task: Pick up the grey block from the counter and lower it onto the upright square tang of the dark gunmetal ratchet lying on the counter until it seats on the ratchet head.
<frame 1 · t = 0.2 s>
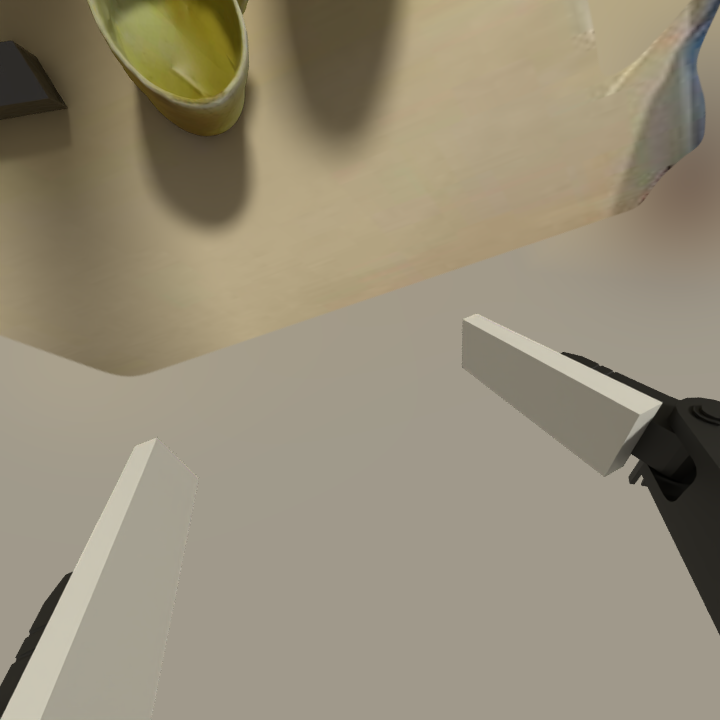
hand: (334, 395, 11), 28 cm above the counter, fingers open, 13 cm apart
mug: (205, 59, 24), on the counter
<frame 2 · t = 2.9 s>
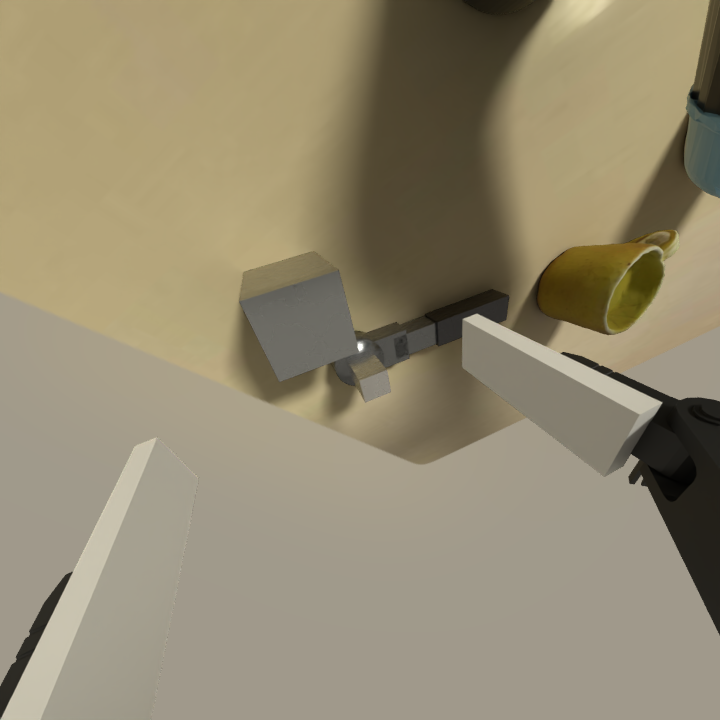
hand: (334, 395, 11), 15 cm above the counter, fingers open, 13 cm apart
mug: (569, 269, 34), on the counter
grey block: (292, 295, 23), on the counter
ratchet: (353, 353, 28), on the counter
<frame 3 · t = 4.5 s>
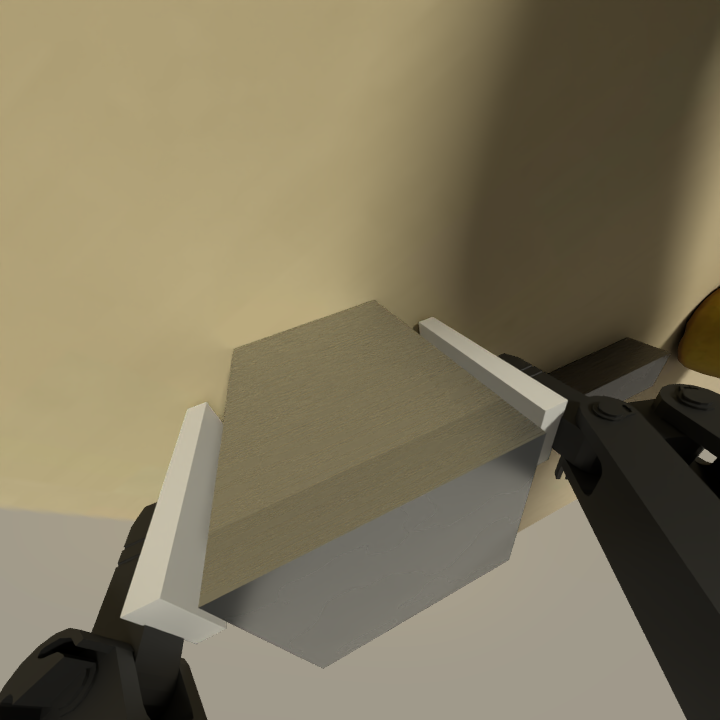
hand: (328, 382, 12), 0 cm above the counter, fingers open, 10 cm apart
grey block: (328, 379, 12), on the counter
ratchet: (417, 448, 17), on the counter
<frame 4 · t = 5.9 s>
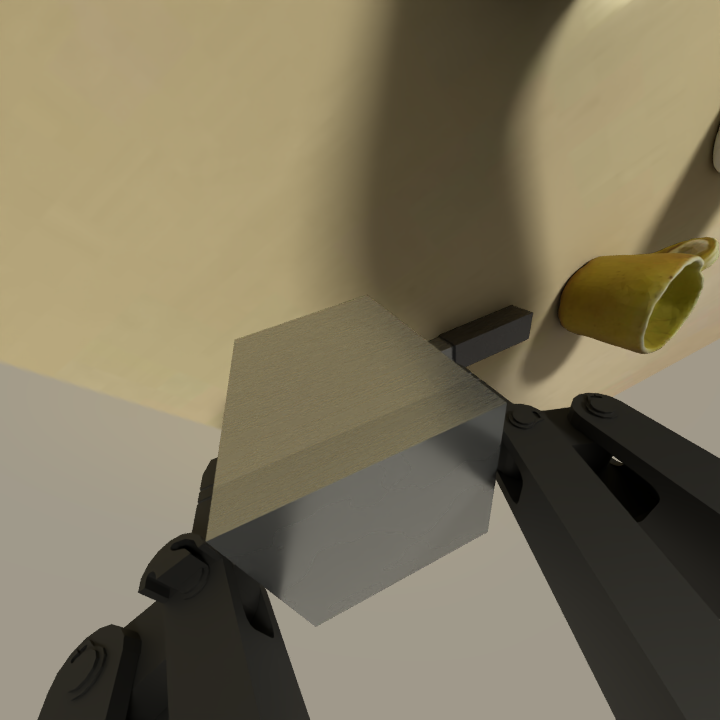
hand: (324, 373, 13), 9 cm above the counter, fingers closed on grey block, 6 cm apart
mug: (591, 280, 31), on the counter
grey block: (323, 370, 13), point 8 cm above the counter, touching gripper
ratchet: (359, 381, 25), on the counter
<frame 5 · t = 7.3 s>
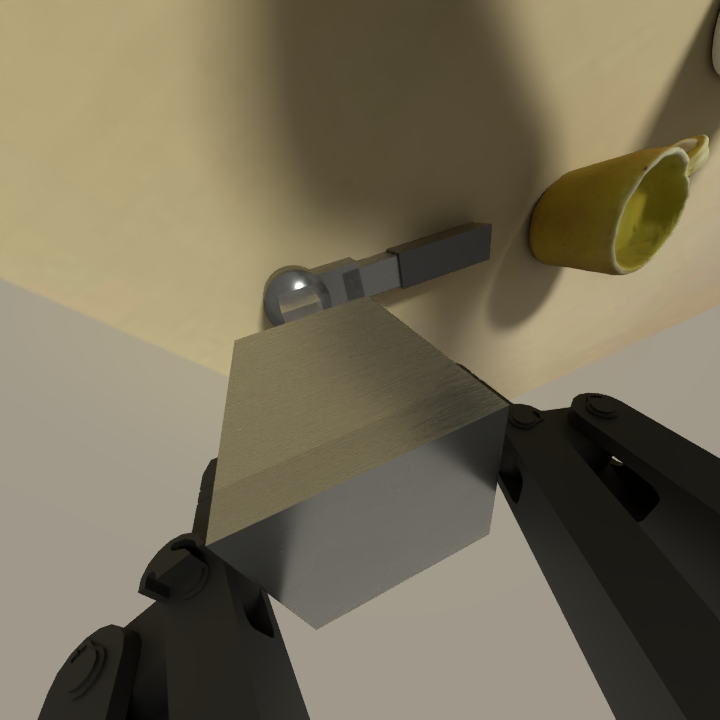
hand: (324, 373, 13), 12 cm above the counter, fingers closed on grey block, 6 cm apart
mug: (569, 205, 28), on the counter
grey block: (324, 371, 13), point 12 cm above the counter, touching gripper
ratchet: (295, 296, 23), on the counter
when the fingers open (4 cm above the counter, at t = 9.0 s): grey block stays where it is, resting on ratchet.
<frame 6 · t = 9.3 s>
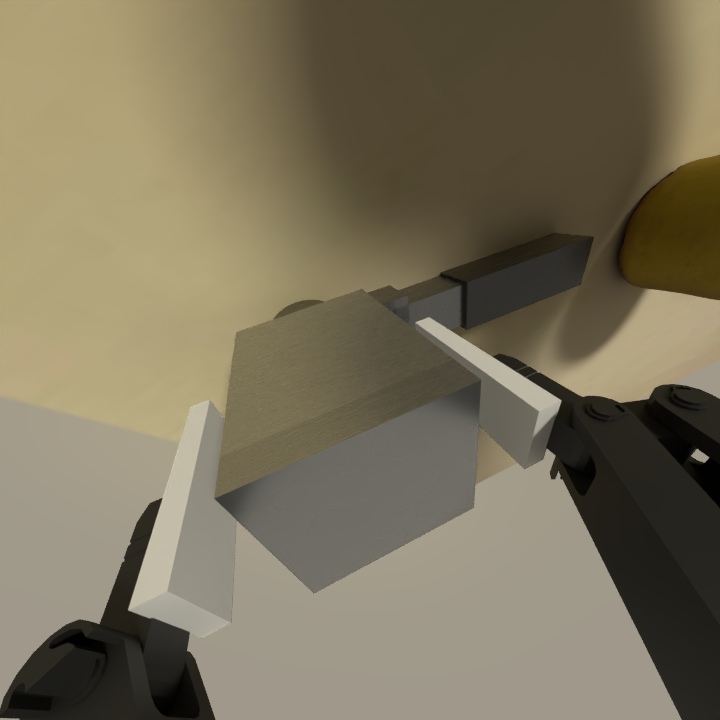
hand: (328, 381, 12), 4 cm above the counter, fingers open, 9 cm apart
mug: (670, 208, 21), on the counter
grey block: (321, 361, 14), point 2 cm above the counter, touching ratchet
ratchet: (311, 342, 16), on the counter
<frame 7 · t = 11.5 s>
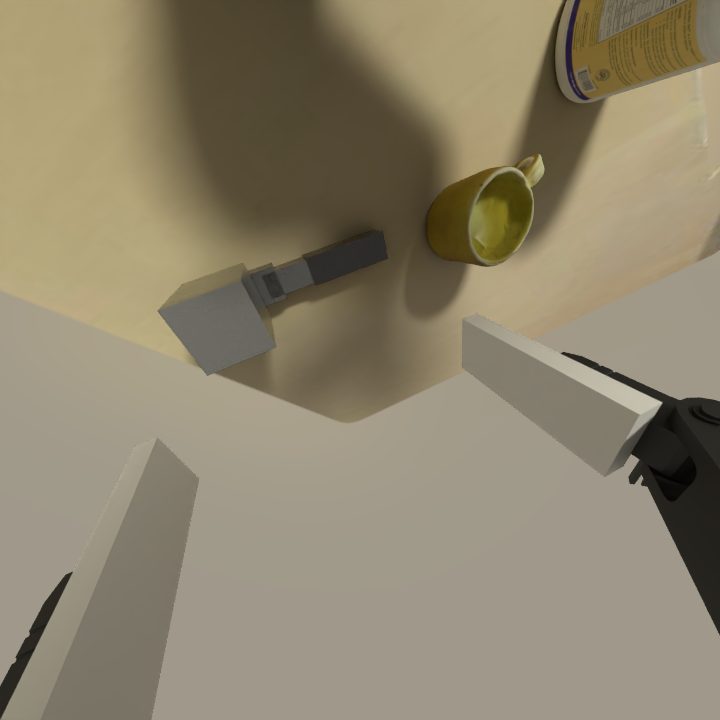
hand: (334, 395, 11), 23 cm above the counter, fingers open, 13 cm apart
mug: (461, 210, 34), on the counter
grey block: (229, 301, 27), point 2 cm above the counter, touching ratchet
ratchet: (231, 295, 29), on the counter
supplement tub: (591, 34, 29), on the counter
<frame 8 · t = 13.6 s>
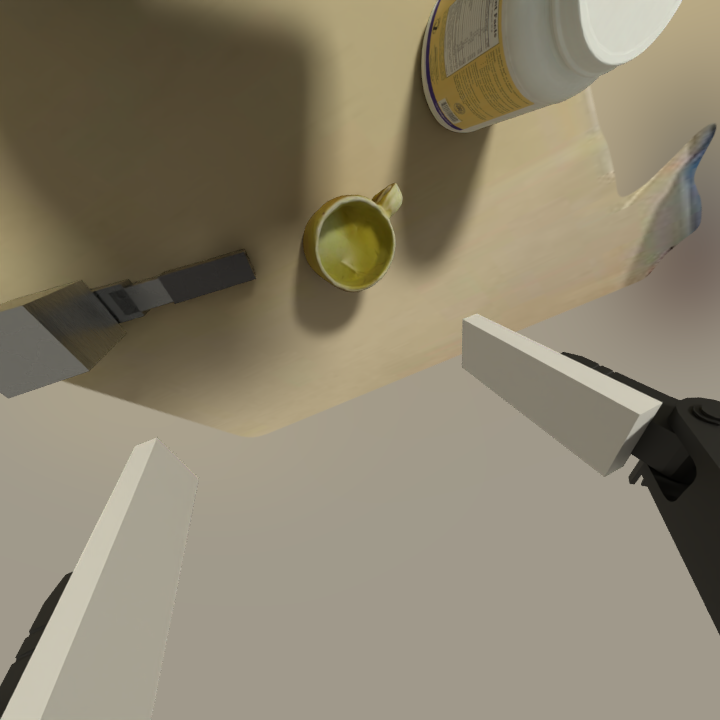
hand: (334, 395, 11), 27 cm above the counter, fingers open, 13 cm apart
mug: (344, 232, 34), on the counter
grey block: (73, 318, 26), point 2 cm above the counter, touching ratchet
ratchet: (86, 310, 28), on the counter
supplement tub: (462, 65, 29), on the counter
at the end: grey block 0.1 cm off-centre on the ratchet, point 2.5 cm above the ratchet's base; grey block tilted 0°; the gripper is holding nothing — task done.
